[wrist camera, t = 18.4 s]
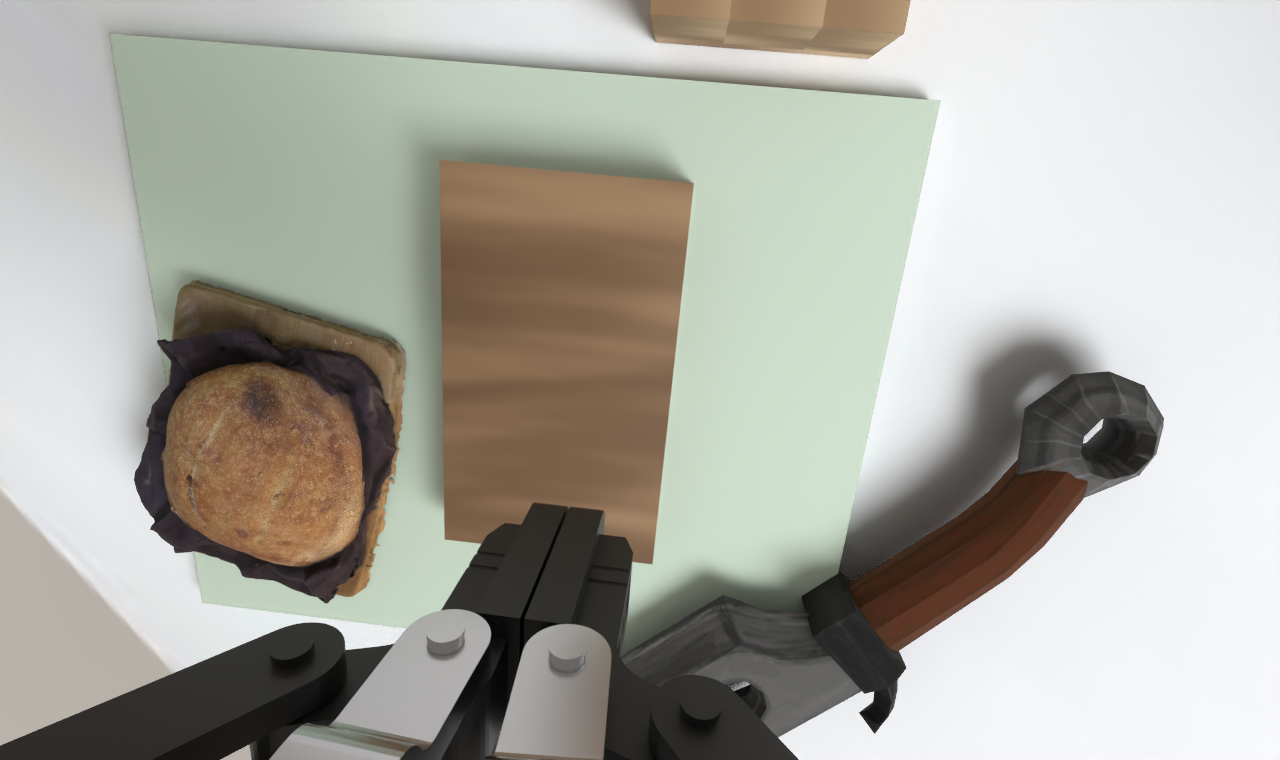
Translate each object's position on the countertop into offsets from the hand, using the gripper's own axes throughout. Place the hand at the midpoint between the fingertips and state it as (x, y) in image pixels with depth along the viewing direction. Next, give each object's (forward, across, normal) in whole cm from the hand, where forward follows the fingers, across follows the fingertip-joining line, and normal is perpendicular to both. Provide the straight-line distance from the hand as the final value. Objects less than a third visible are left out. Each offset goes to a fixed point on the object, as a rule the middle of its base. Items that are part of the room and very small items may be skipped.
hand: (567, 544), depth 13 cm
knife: (+8, -6, +10) cm, 14 cm away
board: (+7, +2, +4) cm, 9 cm away
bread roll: (+8, +12, +3) cm, 14 cm away
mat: (+8, +4, 0) cm, 9 cm away
